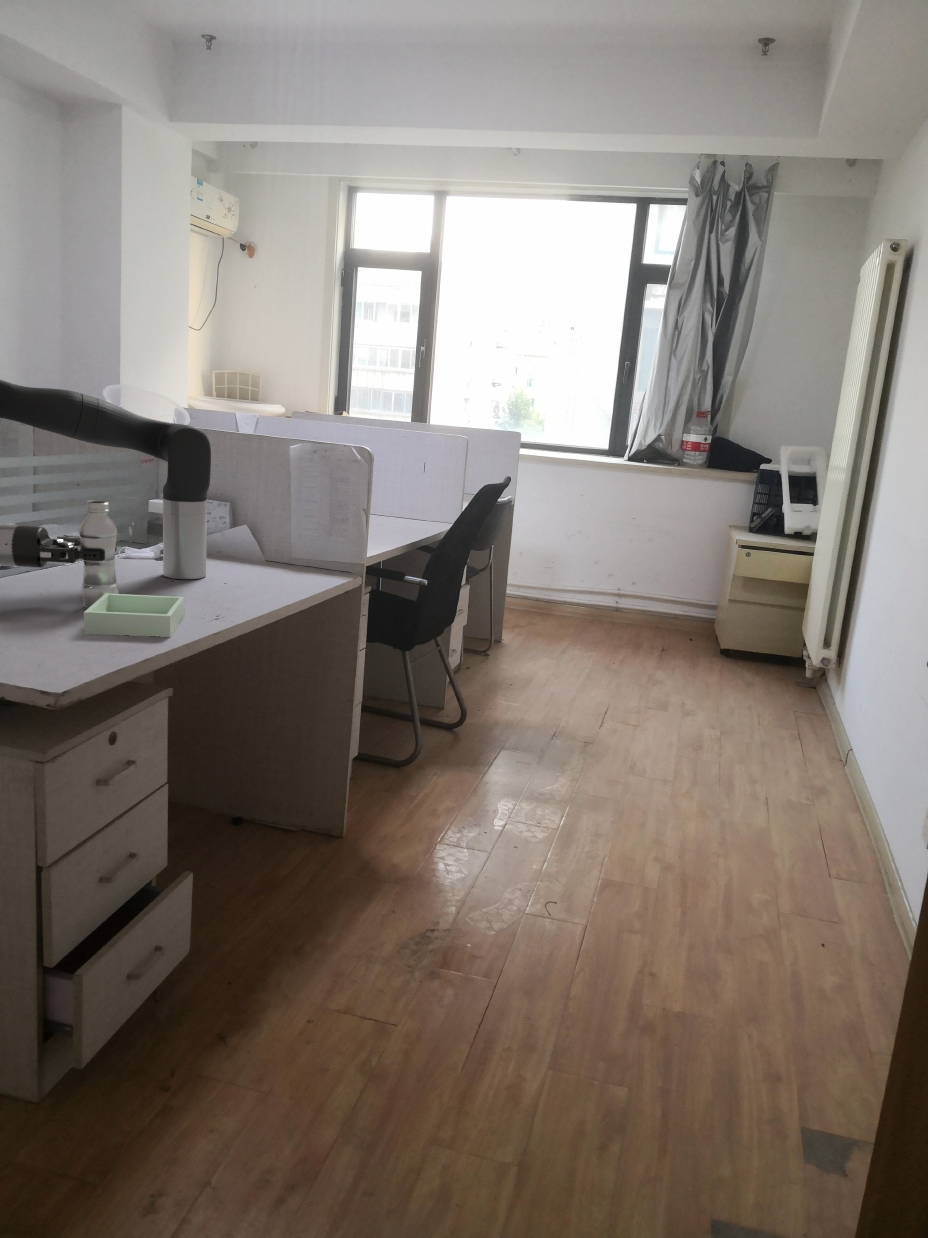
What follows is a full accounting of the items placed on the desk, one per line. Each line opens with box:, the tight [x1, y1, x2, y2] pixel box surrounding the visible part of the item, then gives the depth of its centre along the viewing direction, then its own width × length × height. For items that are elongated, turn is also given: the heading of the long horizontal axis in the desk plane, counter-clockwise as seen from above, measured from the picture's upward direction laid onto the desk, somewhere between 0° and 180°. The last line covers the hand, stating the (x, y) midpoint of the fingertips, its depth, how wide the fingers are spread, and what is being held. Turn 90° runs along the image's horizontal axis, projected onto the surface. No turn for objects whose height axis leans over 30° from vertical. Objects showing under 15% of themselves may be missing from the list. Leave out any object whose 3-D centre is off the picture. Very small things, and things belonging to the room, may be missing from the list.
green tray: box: [83, 593, 186, 638], centre depth 155 cm, size 14×14×4 cm
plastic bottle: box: [78, 500, 120, 608], centre depth 162 cm, size 6×7×20 cm
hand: (110, 550), depth 162 cm, fingers open, 7 cm apart
